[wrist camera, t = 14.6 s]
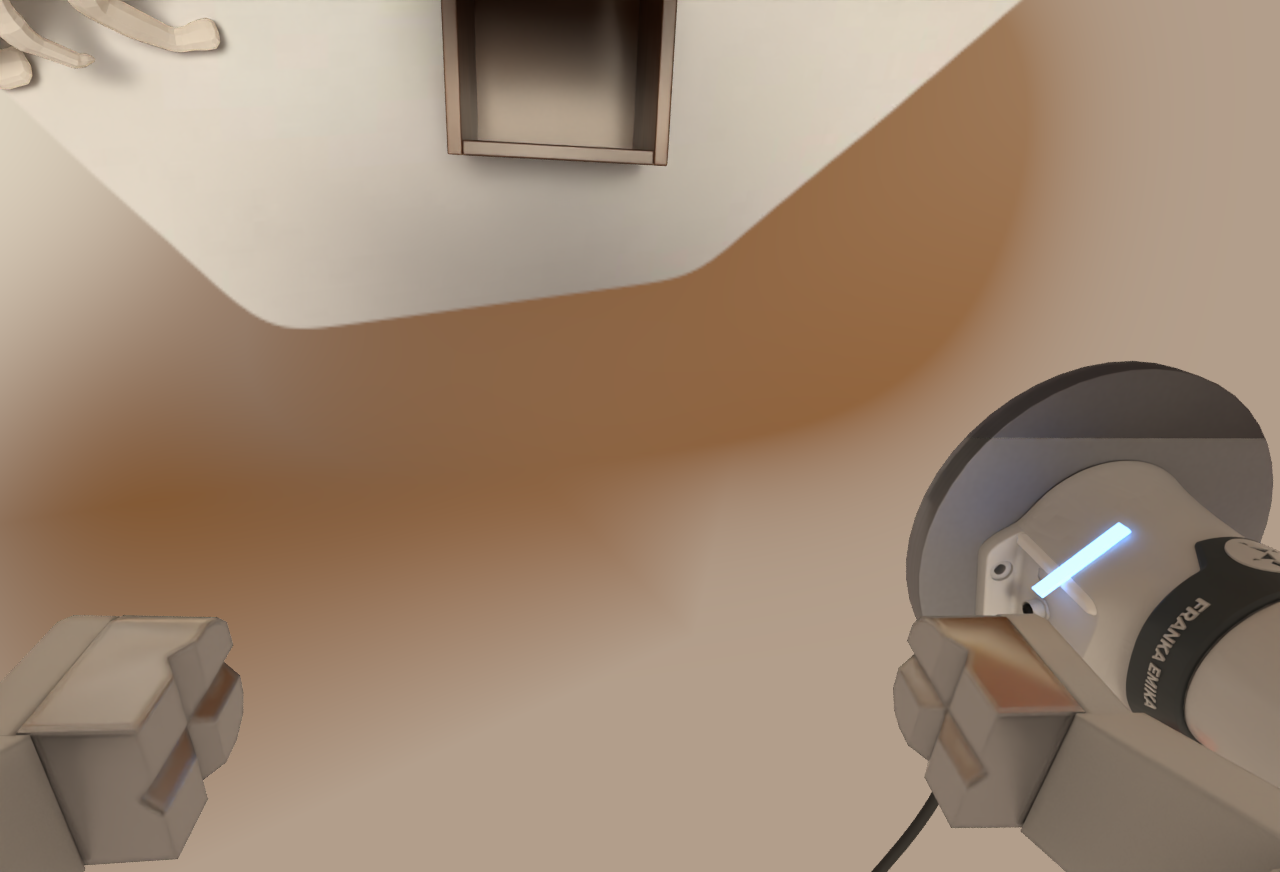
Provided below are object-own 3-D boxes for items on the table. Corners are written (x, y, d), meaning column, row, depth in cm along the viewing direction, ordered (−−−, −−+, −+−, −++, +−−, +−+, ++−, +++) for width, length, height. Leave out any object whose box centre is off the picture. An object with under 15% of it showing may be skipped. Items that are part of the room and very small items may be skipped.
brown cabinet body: (642, 163, 39) (667, 166, 31) (467, 154, 37) (447, 154, 29) (654, -84, 34) (686, -155, 27) (459, -104, 33) (432, -185, 25)
